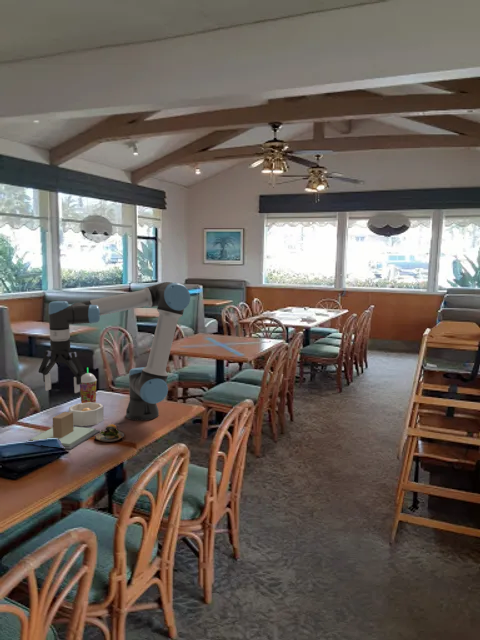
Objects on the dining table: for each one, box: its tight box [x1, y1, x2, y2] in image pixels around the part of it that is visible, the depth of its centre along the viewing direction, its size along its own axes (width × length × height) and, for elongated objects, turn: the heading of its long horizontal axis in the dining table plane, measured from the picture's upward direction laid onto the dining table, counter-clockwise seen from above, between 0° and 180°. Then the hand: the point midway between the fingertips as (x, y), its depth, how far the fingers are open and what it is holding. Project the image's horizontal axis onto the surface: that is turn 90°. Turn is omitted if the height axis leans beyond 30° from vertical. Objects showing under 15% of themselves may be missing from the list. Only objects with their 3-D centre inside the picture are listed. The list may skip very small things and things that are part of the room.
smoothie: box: [79, 367, 98, 403], centre depth 240 cm, size 8×8×20 cm
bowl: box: [68, 402, 105, 427], centre depth 220 cm, size 14×14×6 cm
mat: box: [27, 429, 101, 451], centre depth 198 cm, size 21×21×1 cm
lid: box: [29, 411, 96, 446], centre depth 198 cm, size 18×18×9 cm
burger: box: [94, 423, 126, 443], centre depth 198 cm, size 12×12×8 cm
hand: (62, 391), depth 196 cm, fingers open, 13 cm apart
